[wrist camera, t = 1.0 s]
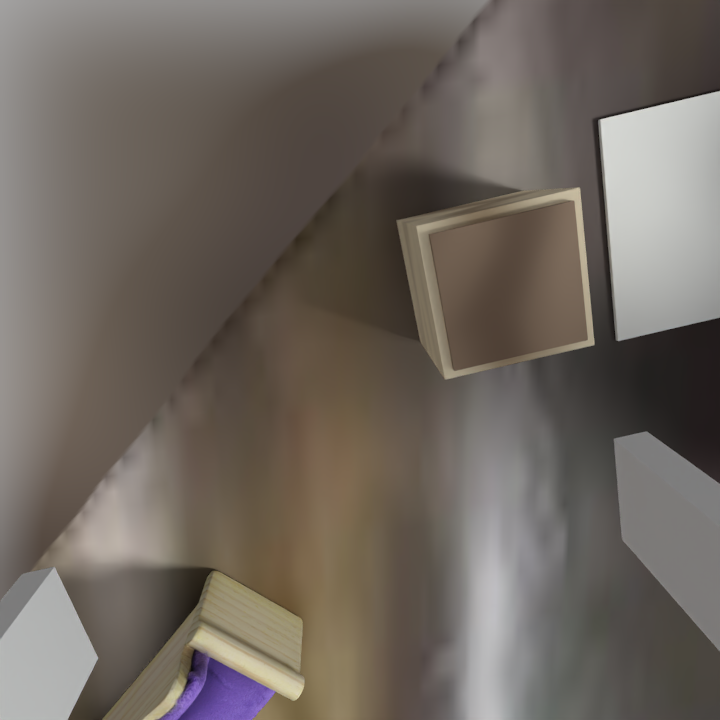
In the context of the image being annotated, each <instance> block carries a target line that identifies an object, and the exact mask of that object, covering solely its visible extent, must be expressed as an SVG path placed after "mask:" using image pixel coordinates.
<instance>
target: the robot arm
mask: <svg viewBox="0 0 720 720" xmlns="http://www.w3.org/2000/svg"><path fill="white" fill-rule="evenodd" d="M614 448H615V460H616V472H617V484H618V496H619V508H620V520H621V532H622V540H623V541H624V542H625V543H626V544H627V545H628V547H629V548H630V549H631V550H632V551H633V552H634V553H635V555H636V556H637V557H638V558H639V559H640V560H641V561H642V563H643V564H644V565H645V566H646V567H647V568H648V569H649V571H650V572H651V573H652V574H653V575H654V576H655V578H656V579H657V580H658V581H659V582H660V583H661V584H662V586H663V587H664V588H665V589H666V590H667V591H668V592H669V594H670V595H671V596H672V597H673V598H674V599H675V600H676V602H677V603H678V604H679V605H680V606H681V607H682V608H683V610H684V611H685V612H686V613H687V614H688V615H689V617H690V618H691V619H692V620H693V621H694V622H695V623H696V625H697V626H698V627H699V628H700V629H701V630H702V631H703V633H704V634H705V635H706V636H707V637H708V638H709V639H710V641H711V642H712V643H713V644H714V645H715V646H716V647H717V649H718V650H719V651H720V484H719V483H718V482H716V481H715V480H714V479H712V478H711V477H709V476H708V475H707V474H705V473H704V472H703V471H701V470H700V469H698V468H697V467H696V466H694V465H693V464H691V463H690V462H689V461H687V460H686V459H684V458H683V457H682V456H680V455H679V454H678V453H676V452H675V451H673V450H672V449H671V448H669V447H668V446H666V445H665V444H664V443H662V442H661V441H659V440H658V439H657V438H655V437H654V436H653V435H651V434H650V433H648V432H647V431H646V432H641V433H637V434H633V435H628V436H624V437H619V438H615V439H614ZM97 660H98V657H97V654H96V652H95V650H94V648H93V646H92V644H91V642H90V640H89V638H88V636H87V634H86V631H85V629H84V627H83V625H82V623H81V621H80V619H79V617H78V615H77V613H76V611H75V608H74V606H73V604H72V602H71V600H70V598H69V596H68V594H67V592H66V590H65V588H64V585H63V583H62V581H61V579H60V577H59V575H58V573H57V571H56V569H55V567H51V568H47V569H42V570H38V571H33V572H29V573H25V574H22V575H21V576H20V577H19V579H18V580H17V581H16V582H15V583H14V585H13V586H12V587H11V588H10V590H9V591H8V592H7V593H6V594H5V596H4V597H3V598H2V599H1V601H0V720H68V718H69V716H70V714H71V712H72V710H73V708H74V706H75V704H76V702H77V700H78V698H79V696H80V694H81V692H82V690H83V688H84V686H85V684H86V682H87V680H88V678H89V676H90V674H91V672H92V670H93V668H94V666H95V664H96V662H97Z"/></svg>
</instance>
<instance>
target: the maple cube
mask: <svg viewBox="0 0 720 720" xmlns="http://www.w3.org/2000/svg"><path fill="white" fill-rule="evenodd" d="M396 222H397V227H398V232H399V237H400V242H401V247H402V252H403V257H404V262H405V267H406V272H407V277H408V282H409V287H410V292H411V297H412V302H413V307H414V312H415V318H416V323H417V328H418V333H419V338H420V342H421V344H422V345H423V347H424V348H425V350H426V351H427V353H428V354H429V356H430V357H431V359H432V361H433V362H434V364H435V365H436V367H437V368H438V370H439V371H440V373H441V374H442V376H443V377H444V379H445V380H446V379H451V378H455V377H459V376H463V375H468V374H472V373H476V372H481V371H485V370H489V369H493V368H498V367H502V366H506V365H511V364H515V363H519V362H524V361H528V360H532V359H536V358H541V357H545V356H549V355H554V354H558V353H562V352H567V351H571V350H575V349H579V348H584V347H588V346H592V345H595V344H594V333H593V322H592V312H591V301H590V290H589V280H588V269H587V258H586V248H585V237H584V227H583V216H582V205H581V195H580V188H563V189H545V190H527V191H519V192H515V193H511V194H506V195H502V196H498V197H494V198H490V199H485V200H481V201H477V202H473V203H468V204H464V205H460V206H456V207H451V208H447V209H443V210H439V211H434V212H430V213H426V214H422V215H418V216H413V217H409V218H405V219H401V220H396Z"/></svg>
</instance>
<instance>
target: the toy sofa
mask: <svg viewBox="0 0 720 720" xmlns="http://www.w3.org/2000/svg"><path fill="white" fill-rule="evenodd" d="M302 629H303V623H302V619H301V618H300V617H298V616H296V615H294V614H292V613H291V612H289V611H288V610H286V609H284V608H282V607H281V606H279V605H277V604H275V603H273V602H272V601H270V600H268V599H267V598H265V597H263V596H261V595H260V594H258V593H256V592H254V591H253V590H251V589H249V588H247V587H246V586H244V585H242V584H240V583H239V582H237V581H235V580H233V579H231V578H230V577H228V576H226V575H224V574H222V573H221V572H218V571H212V572H211V573H210V574H209V575H208V577H207V579H206V582H205V585H204V588H203V591H202V594H201V597H200V600H199V603H198V605H197V606H196V607H195V609H194V610H193V611H192V612H191V613H190V615H189V616H188V617H187V618H186V620H185V621H184V622H183V623H182V625H181V626H180V627H179V628H178V629H177V631H176V632H175V633H174V634H173V635H172V637H171V638H170V639H169V641H168V642H167V643H166V644H165V645H164V646H163V648H162V649H161V650H160V651H159V652H158V654H157V655H156V656H155V657H154V659H153V660H152V661H151V662H150V663H149V664H148V666H147V667H146V668H145V669H144V670H143V671H142V673H141V674H140V675H139V676H138V678H137V679H136V680H135V681H134V682H133V684H132V685H131V686H130V687H129V688H128V689H127V691H126V692H125V693H124V694H123V695H122V697H121V698H120V699H119V700H118V701H117V703H116V704H115V705H114V706H113V707H112V708H111V710H110V711H109V712H108V713H107V714H106V715H105V717H104V718H103V719H102V720H252V719H253V718H254V717H255V716H256V714H257V713H258V712H259V711H260V710H261V709H262V708H263V707H264V705H265V704H266V703H267V702H268V701H269V699H270V698H271V697H272V696H273V694H274V693H275V692H277V693H279V694H281V695H283V696H285V697H287V698H289V699H291V700H293V701H294V700H296V699H298V698H299V696H300V695H301V693H302V690H303V688H304V683H305V680H304V676H303V675H302V674H300V662H301V644H302Z"/></svg>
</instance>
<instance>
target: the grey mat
mask: <svg viewBox="0 0 720 720" xmlns="http://www.w3.org/2000/svg"><path fill="white" fill-rule="evenodd" d="M598 128H599V140H600V153H601V165H602V177H603V190H604V202H605V214H606V227H607V239H608V251H609V264H610V276H611V288H612V301H613V313H614V325H615V338H616V340H617V341H621V340H625V339H630V338H634V337H638V336H643V335H647V334H651V333H655V332H660V331H664V330H668V329H673V328H677V327H681V326H686V325H690V324H694V323H698V322H703V321H707V320H711V319H716V318H720V91H718V92H714V93H709V94H705V95H701V96H697V97H693V98H688V99H684V100H680V101H676V102H671V103H667V104H663V105H659V106H655V107H650V108H646V109H642V110H638V111H634V112H629V113H625V114H621V115H617V116H612V117H608V118H604V119H600V120H598Z"/></svg>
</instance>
